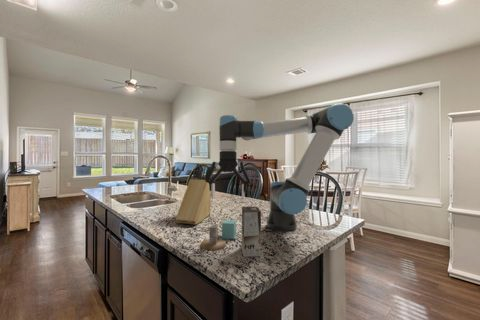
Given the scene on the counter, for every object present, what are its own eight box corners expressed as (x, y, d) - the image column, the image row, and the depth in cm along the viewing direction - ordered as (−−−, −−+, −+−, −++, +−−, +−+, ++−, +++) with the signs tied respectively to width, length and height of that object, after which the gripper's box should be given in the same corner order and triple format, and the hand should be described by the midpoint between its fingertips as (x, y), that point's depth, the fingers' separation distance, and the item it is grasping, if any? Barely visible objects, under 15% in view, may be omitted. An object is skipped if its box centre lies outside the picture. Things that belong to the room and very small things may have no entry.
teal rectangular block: (236, 235, 104) (236, 220, 104) (233, 239, 99) (233, 223, 99) (224, 234, 105) (224, 219, 105) (221, 238, 100) (222, 223, 100)
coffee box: (261, 256, 82) (261, 211, 82) (243, 257, 81) (243, 211, 81) (257, 246, 91) (257, 206, 91) (240, 246, 90) (241, 206, 90)
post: (228, 241, 96) (228, 223, 96) (222, 251, 86) (222, 231, 86) (205, 239, 98) (205, 222, 97) (197, 249, 88) (197, 229, 88)
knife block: (215, 210, 150) (215, 163, 150) (195, 226, 115) (196, 165, 115) (198, 209, 152) (199, 163, 152) (174, 225, 117) (175, 164, 117)
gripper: (256, 151, 104) (256, 198, 104) (203, 151, 108) (203, 196, 108) (255, 150, 96) (255, 201, 96) (198, 150, 100) (198, 199, 101)
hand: (227, 198), depth 102 cm, fingers open, 13 cm apart
